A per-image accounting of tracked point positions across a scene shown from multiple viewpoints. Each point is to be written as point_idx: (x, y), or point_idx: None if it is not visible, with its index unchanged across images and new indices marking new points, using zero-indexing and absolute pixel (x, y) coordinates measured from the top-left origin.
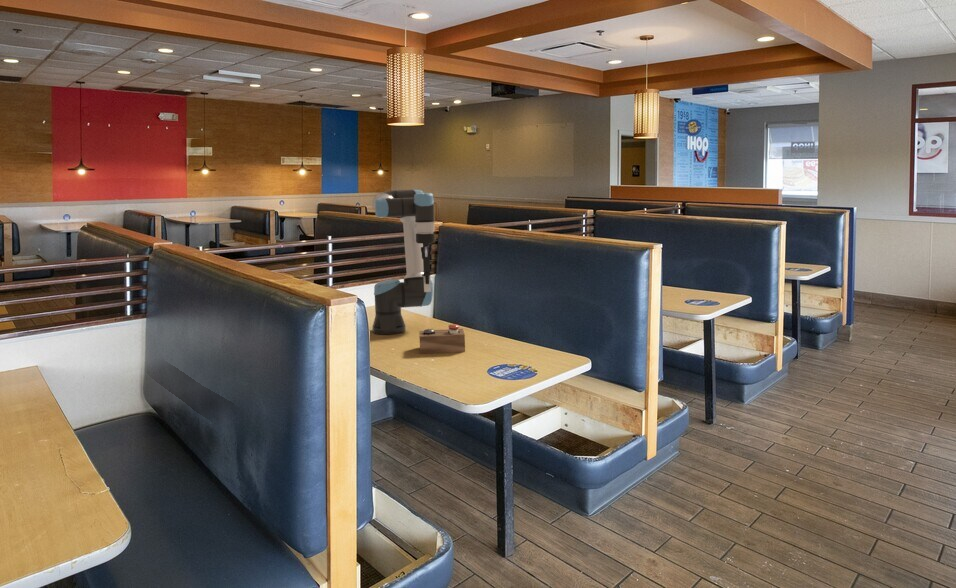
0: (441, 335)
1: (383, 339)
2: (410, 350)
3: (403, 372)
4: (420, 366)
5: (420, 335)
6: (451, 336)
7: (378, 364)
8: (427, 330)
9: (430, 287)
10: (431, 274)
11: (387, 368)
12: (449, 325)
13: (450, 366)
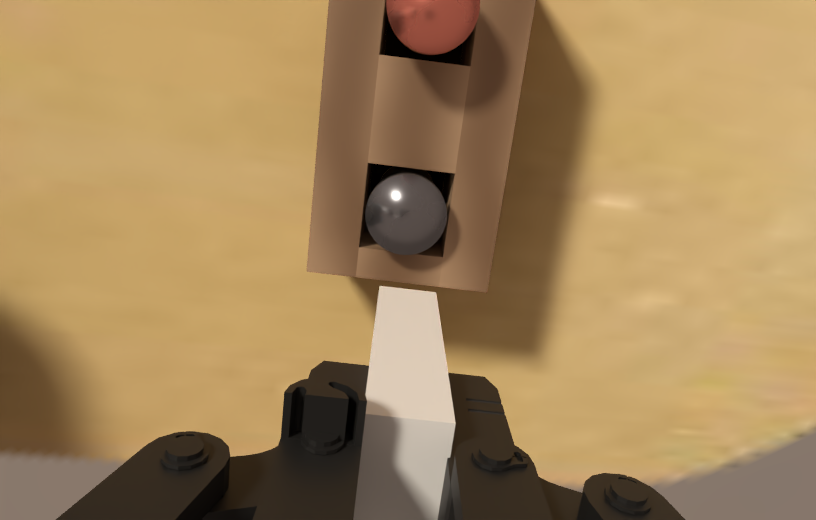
0: (506, 131)
1: (73, 424)
2: (369, 301)
3: (781, 379)
4: (716, 286)
5: (453, 281)
6: (526, 52)
7: None
8: (406, 228)
9: (440, 322)
10: (352, 390)
11: (678, 445)
12: (417, 42)
13: (792, 122)
